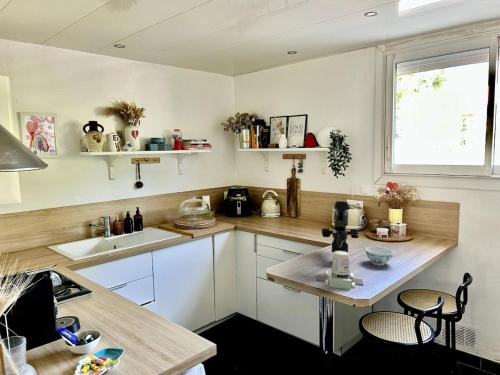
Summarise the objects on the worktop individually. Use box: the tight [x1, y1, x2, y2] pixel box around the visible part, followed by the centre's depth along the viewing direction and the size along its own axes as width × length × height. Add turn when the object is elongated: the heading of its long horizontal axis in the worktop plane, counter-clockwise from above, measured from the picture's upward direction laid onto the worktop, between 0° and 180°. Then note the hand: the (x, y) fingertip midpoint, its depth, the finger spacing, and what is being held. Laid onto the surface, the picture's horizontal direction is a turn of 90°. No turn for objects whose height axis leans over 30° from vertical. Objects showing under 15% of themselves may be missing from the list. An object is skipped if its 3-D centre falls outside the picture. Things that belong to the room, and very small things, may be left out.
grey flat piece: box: [316, 270, 364, 290], centre depth 183 cm, size 18×22×4 cm
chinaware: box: [365, 246, 394, 266], centre depth 210 cm, size 15×15×8 cm
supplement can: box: [331, 251, 351, 279], centre depth 180 cm, size 8×8×15 cm
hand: (339, 247), depth 193 cm, fingers closed
